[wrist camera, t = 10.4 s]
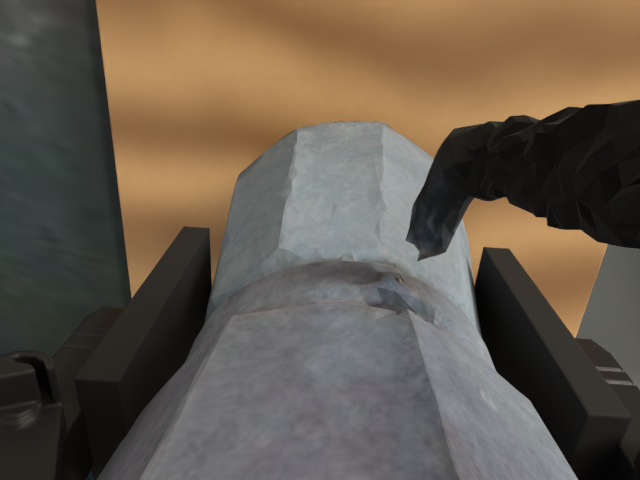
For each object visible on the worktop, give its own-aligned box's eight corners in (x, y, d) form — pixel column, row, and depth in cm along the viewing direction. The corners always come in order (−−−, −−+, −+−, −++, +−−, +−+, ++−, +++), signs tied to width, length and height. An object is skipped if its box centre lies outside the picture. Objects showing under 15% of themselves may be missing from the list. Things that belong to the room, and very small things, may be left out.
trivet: (87, -171, 15) (72, -182, 15) (717, -129, 15) (741, -138, 14) (145, 342, 24) (137, 355, 23) (551, 370, 24) (559, 384, 23)
